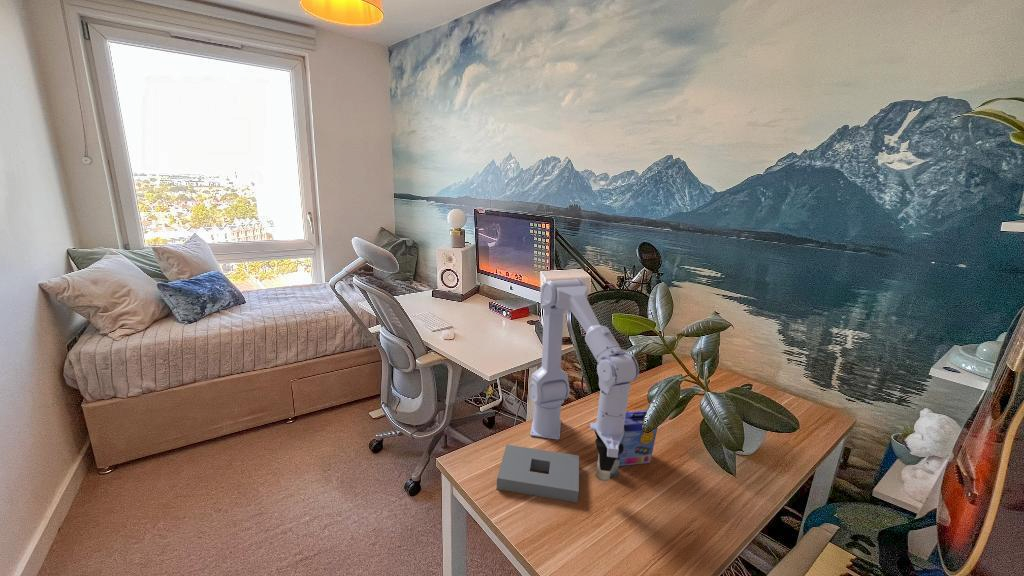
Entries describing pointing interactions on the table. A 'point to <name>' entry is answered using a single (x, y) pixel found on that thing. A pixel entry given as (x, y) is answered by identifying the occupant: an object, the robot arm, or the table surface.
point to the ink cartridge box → (636, 440)
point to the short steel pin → (615, 469)
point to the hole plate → (553, 485)
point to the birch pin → (602, 473)
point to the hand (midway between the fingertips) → (604, 463)
